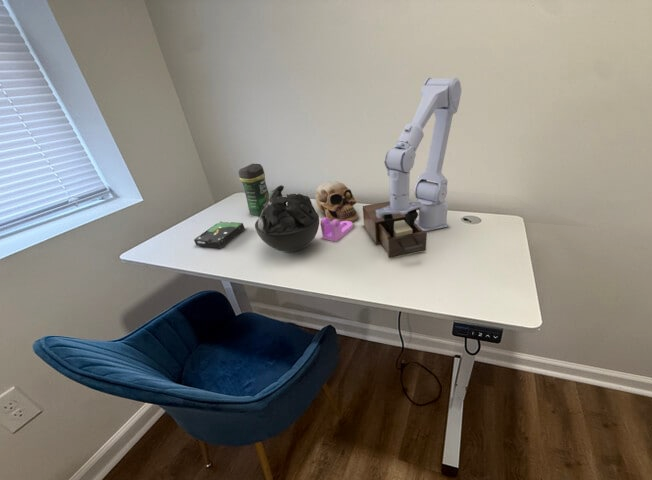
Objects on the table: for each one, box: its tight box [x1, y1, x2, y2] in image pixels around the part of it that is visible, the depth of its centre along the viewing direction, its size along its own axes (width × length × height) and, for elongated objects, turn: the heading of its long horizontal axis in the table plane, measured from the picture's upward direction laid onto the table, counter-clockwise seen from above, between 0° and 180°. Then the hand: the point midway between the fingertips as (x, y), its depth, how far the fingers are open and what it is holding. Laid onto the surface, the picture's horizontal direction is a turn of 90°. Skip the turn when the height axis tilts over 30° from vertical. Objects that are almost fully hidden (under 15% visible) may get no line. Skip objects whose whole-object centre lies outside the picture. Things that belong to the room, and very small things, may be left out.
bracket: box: [320, 216, 354, 242], centre depth 112 cm, size 13×6×7 cm, turn 152°
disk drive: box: [193, 221, 246, 249], centre depth 114 cm, size 10×3×15 cm
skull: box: [314, 180, 359, 223], centre depth 123 cm, size 16×17×13 cm
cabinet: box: [362, 200, 406, 245], centre depth 110 cm, size 14×13×8 cm
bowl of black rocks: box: [254, 185, 320, 253], centre depth 101 cm, size 20×20×19 cm
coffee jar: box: [237, 163, 270, 217], centre depth 126 cm, size 10×8×19 cm
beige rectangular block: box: [393, 220, 412, 237], centre depth 100 cm, size 5×8×4 cm
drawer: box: [377, 219, 428, 259], centre depth 99 cm, size 18×12×6 cm, turn 18°
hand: (399, 234), depth 101 cm, fingers closed on beige rectangular block, 5 cm apart
